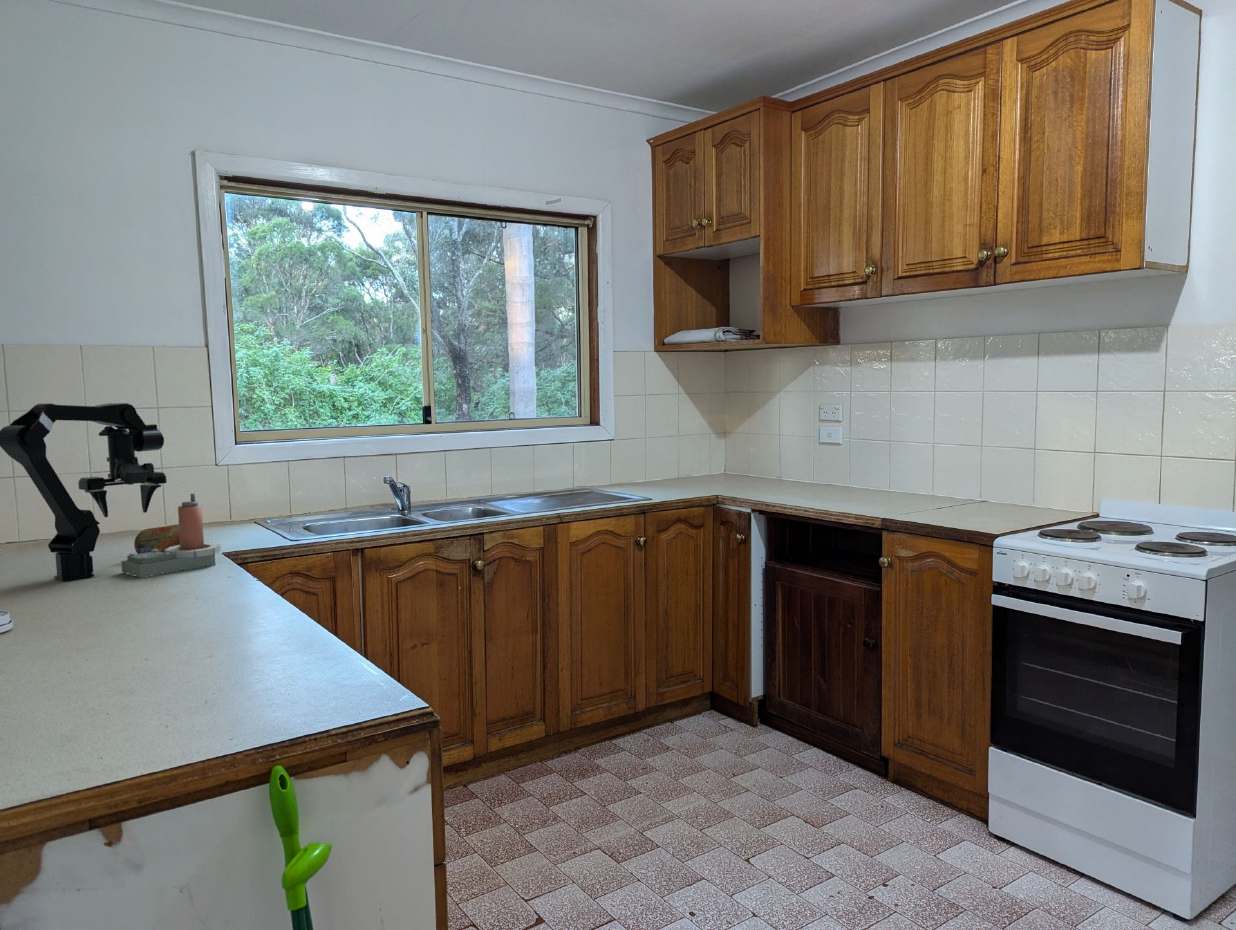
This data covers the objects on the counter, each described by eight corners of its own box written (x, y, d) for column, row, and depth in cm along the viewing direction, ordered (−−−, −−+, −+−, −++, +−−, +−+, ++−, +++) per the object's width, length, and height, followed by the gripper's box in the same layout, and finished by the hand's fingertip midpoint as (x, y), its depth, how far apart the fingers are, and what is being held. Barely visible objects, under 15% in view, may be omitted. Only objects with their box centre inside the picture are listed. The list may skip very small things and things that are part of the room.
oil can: (193, 555, 213) (190, 495, 212) (175, 554, 214) (172, 495, 213) (209, 551, 218) (206, 493, 217) (191, 550, 220) (188, 492, 218)
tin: (139, 562, 221) (136, 530, 220) (133, 560, 223) (131, 529, 222) (196, 553, 233) (195, 522, 232) (191, 551, 235) (189, 521, 234)
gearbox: (142, 578, 201) (141, 558, 201) (120, 572, 209) (119, 553, 208) (228, 563, 218) (227, 544, 217) (205, 558, 225) (204, 540, 225)
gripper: (94, 457, 202) (99, 522, 203) (175, 451, 217) (178, 512, 218) (75, 455, 209) (80, 518, 210) (154, 450, 223) (158, 509, 225)
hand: (125, 514), depth 215 cm, fingers open, 9 cm apart
